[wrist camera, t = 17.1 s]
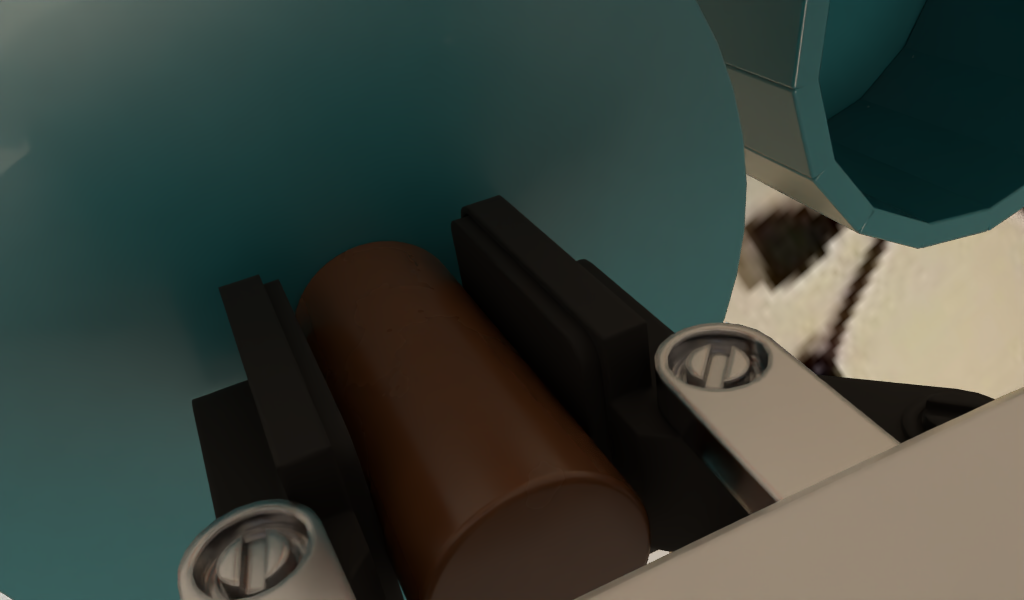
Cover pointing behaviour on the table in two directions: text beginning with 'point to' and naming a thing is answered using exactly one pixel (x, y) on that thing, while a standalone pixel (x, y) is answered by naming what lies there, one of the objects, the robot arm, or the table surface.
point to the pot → (882, 109)
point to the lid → (337, 263)
